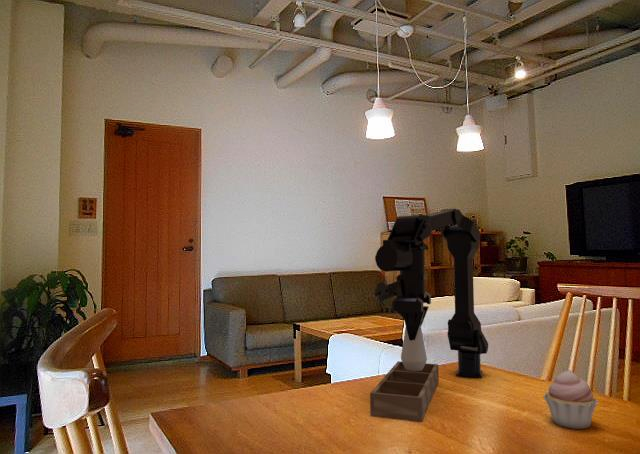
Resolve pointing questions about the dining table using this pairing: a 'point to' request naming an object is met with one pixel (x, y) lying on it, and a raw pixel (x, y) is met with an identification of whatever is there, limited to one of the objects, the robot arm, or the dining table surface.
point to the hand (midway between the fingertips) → (413, 339)
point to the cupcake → (570, 401)
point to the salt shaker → (414, 352)
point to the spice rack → (404, 393)
